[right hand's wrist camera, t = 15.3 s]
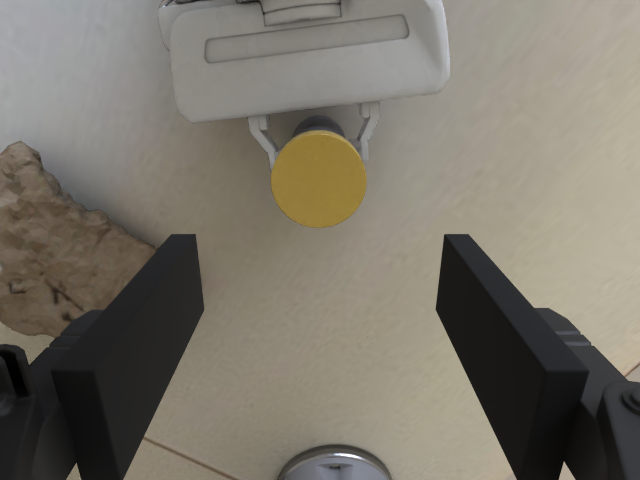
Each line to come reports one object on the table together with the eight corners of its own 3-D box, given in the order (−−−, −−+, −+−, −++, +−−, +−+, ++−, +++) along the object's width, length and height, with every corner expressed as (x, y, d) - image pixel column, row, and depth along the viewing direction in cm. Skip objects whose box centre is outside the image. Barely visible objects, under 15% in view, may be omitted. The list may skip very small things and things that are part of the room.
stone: (-78, 248, 41) (-120, 273, 35) (25, 133, 40) (-1, 140, 35) (115, 359, 50) (106, 392, 44) (202, 266, 49) (204, 288, 44)
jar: (309, 178, 42) (304, 232, 28) (282, 133, 40) (263, 166, 26) (354, 152, 41) (372, 195, 27) (328, 105, 39) (334, 124, 26)
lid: (303, 233, 29) (302, 243, 28) (256, 159, 28) (252, 165, 26) (379, 192, 28) (383, 199, 27) (336, 112, 27) (337, 115, 25)
